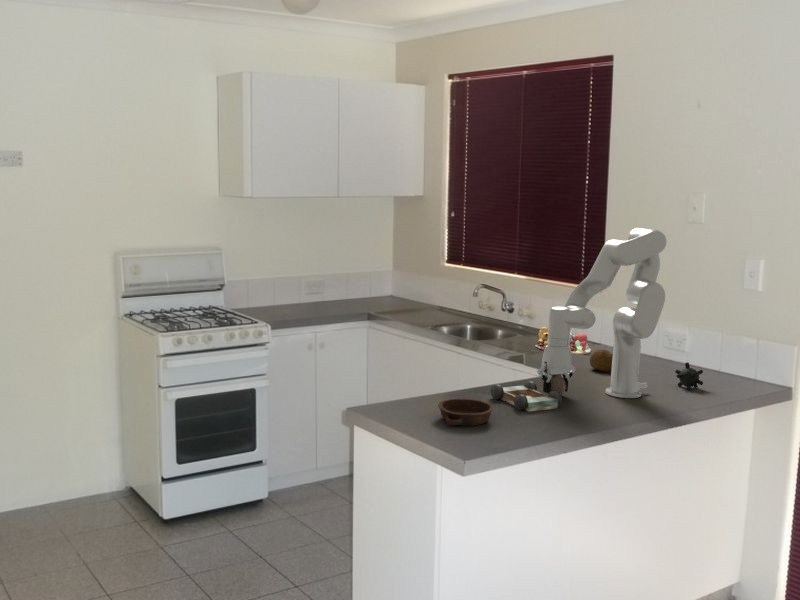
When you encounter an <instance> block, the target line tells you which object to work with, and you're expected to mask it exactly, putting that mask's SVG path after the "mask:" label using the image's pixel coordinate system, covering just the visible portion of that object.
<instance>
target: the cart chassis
mask: <svg viewBox="0 0 800 600" xmlns="http://www.w3.org/2000/svg"><path fill="white" fill-rule="evenodd" d="M537 390H538V386H537V384H536V382H534V381H533V380H532V381H525V383H524V385H516V386H504V387H503V386H502V385H501V384H492V385H491V388H490V395H491V398H492V399H494V400H500V401H501V400H502V401H503V402H505V401H506V403H508V404H510V405H512V406H514V407H515V409H516V410H518V411H527V412H529V413H530V412H537V411H544V410H545V411H546V410H553V409H559V408H558V406H560V405H561V404H562V403H563V402H562V401H563V398H562V397H563V395H562V396H561V394H560V392H559V391H551V392H550V393H549V394H547V393H544V392H543V393H542V392H540V391H537Z"/></svg>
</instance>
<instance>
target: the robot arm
mask: <svg viewBox="0 0 800 600" xmlns="http://www.w3.org/2000/svg"><path fill="white" fill-rule="evenodd" d="M667 241H668V240H667V237H666V235H665V234H664V233H663V232H662V231H660V230H658V229H652V228H646V227H635V228H634V229H633V228H632V229H631V231H629V233H628V236H627V240H621V239H609V240H607V241H606V242H605V243H604V245H602V248H601V250H600V252H599V254H598V255H597V257H596V260H595V262H594V263H593V266H592V267H591V269H590V271H589V273H588V275H586V277H585V278H584V279H583V280H581V282H580V283H579V284H578V285H577V286H576V287H575V288H573V290H572V292H571V293H570V295H569V297H568V299H567V300H566V303H565V305H564V306H553V307H551V308H550V309H549V316H548V317H549V319H548V332H547V333H548V345H546V346H545V349H544V350H543V353H542V359H541V367H539V368H538V369H537V374H538V375H539V377H540V379H541V380H542V383H543V387H542V392H543V393H544V394H547V393H548V394H549V393H550V387H551V383H550V382H549V381H550V379H551V377H552V375H560V374H561V376H562V377H563V379H564V381H565V384H566V389H565V392H566V393H567V392H568V389H569V381H571V378H572V376H573V375H574V373H575V372H576V370H577V369H576V367H575V366H574V365H573V364H572V363H573V362H572V358H573V357H572V354H571V347H570V346H569V344H570V342H571V341H572V339H571V338H570V332H571V329H577V330H578V329H579V330H589V329H590V328H592V327H593V326H594V325H595V323H596V314H595V313H594V312H593V311H592V310H591V309H590V308H587V305H588V304H589V302H590V300H592V298H593V297H594V296H595V295H597V294H599V293H602V292H603V291H605V290H607V289H609V288H610V287H611V285H612V284H613V282H614V280H615V278H616V276H617V274H618V272H619V270H620V268H621V266H622V267H629V266H632V265H634V267H633V269H632V270H633V271H632V274H631V277H630V279H629V281H628V285H627V288H626V291H625V297H626V299H627V301H628V302H629V303H631V304H633V305H636V307H635V308H634V307H632V306H631V307H630V306H623V307H620V308H619V309H617V311H616V312H615V313H614V315H613V318H612V331H613V347H612V348H613V349H612V354H613V358H612V371H611V372H610V384H609V385H610V386H609V387H606V388H605V394H607V395H609V396H612V397H614V398H615V397H616V398H620V399H638V398H640V397H641V396H642V391H640V390H641V389H646V388H648V387H649V386H648V383H647V382H639V376H640V375H639V372H640V360H641V348H642V345H641V343H642V340H643V339H648V338H649V337H650V336H651V335H653V333H654V331H655V330H656V329H657V325H658V323H659V319H660V316H661V314H662V311H663V308H664V305H665V303H666V292H665V291H666V290H665V288H664V287H663V285H661V284H660V283H659V282H657V278H658V275H659V273H660V267H661V259H660V258H661V257H660V254H661V253H662V252H663V251H664V250H665V249H666V247H667ZM565 392H564V393H565ZM548 394H547V395H548Z"/></svg>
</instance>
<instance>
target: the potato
mask: <svg viewBox="0 0 800 600" xmlns="http://www.w3.org/2000/svg"><path fill="white" fill-rule="evenodd" d="M612 358H613V352H610V351H609V350H607V349H596V350H594V351H593V352H592V354H591V355H590V358H589V364H590V367H591V368H592V369H595V370H597V371H600V372H604V373H611V371H612Z"/></svg>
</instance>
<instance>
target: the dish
mask: <svg viewBox="0 0 800 600" xmlns="http://www.w3.org/2000/svg"><path fill="white" fill-rule="evenodd" d="M437 407H438V408H439V411H440V414H441V417H442V418H443V420H444V421H445V422H446V424H448V425H449V426H469V427H470V426H472V427H473V426H478V425H482V424H484V423H487V422H488V421H489V419H490V417H491V415H492V412H493V411H494V409H495V407H494V405H492V404H491V403H489V402H487V401H484V400H478V399H473V398H450V399H445V400H442V401H439V403H438V404H437Z"/></svg>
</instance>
